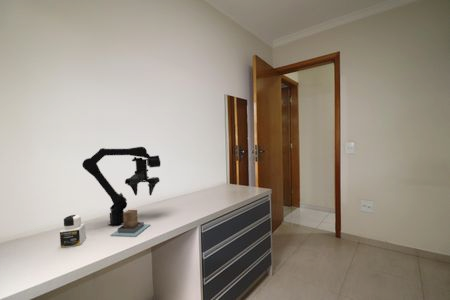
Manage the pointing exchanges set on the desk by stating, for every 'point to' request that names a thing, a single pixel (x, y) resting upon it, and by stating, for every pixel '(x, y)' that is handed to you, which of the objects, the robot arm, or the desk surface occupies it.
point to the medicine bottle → (72, 231)
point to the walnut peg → (130, 219)
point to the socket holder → (131, 230)
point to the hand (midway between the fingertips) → (143, 195)
